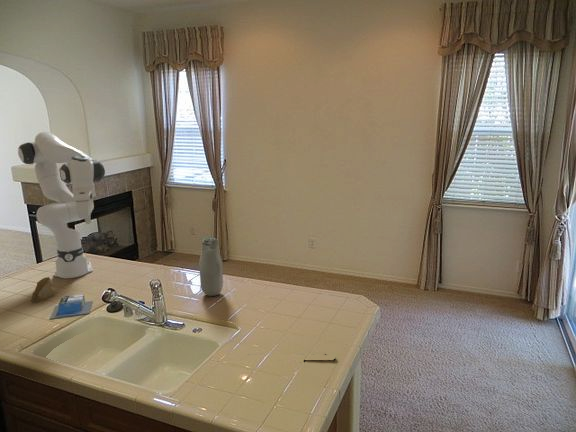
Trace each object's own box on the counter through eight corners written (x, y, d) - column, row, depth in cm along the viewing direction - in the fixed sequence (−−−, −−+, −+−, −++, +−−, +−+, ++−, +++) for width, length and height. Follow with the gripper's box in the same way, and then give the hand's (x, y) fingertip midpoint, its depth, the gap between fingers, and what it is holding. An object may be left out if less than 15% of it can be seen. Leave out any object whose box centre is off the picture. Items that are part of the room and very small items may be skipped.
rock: (31, 301, 181) (56, 292, 187) (24, 284, 183) (49, 275, 189) (32, 307, 190) (55, 298, 196) (25, 290, 192) (49, 282, 197)
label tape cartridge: (84, 293, 184) (79, 305, 173) (85, 301, 185) (80, 313, 174) (62, 296, 182) (56, 308, 170) (63, 304, 183) (57, 317, 171)
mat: (55, 306, 181) (55, 306, 181) (92, 301, 186) (92, 301, 186) (49, 319, 170) (49, 318, 170) (89, 313, 175) (89, 312, 175)
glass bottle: (197, 297, 190) (193, 239, 183) (209, 288, 199) (206, 233, 192) (215, 300, 186) (212, 241, 179) (227, 291, 195) (224, 235, 188)
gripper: (80, 189, 190) (84, 218, 194) (72, 198, 171) (77, 229, 175) (95, 188, 192) (98, 217, 196) (89, 197, 173) (93, 228, 177)
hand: (88, 223), depth 185 cm, fingers closed
